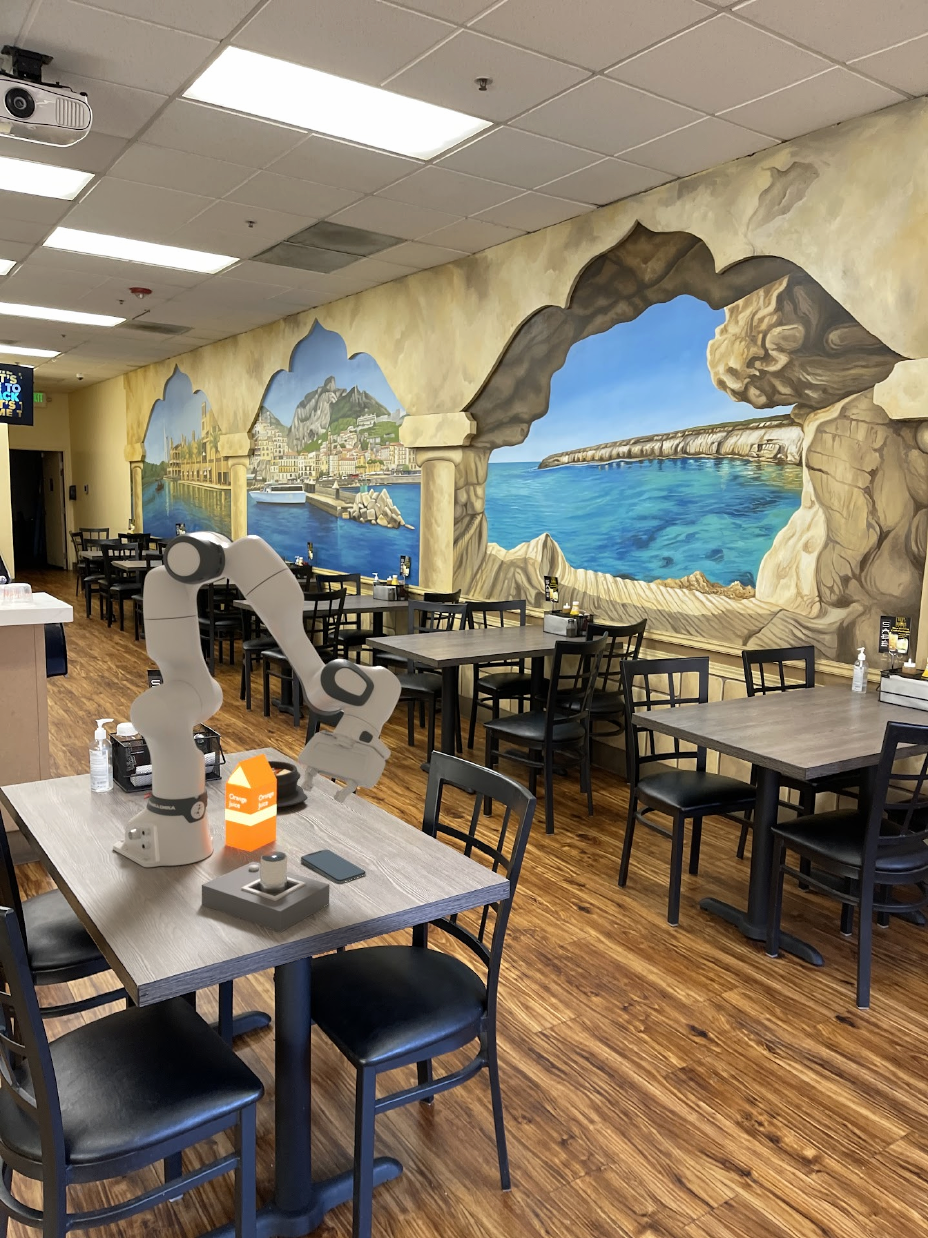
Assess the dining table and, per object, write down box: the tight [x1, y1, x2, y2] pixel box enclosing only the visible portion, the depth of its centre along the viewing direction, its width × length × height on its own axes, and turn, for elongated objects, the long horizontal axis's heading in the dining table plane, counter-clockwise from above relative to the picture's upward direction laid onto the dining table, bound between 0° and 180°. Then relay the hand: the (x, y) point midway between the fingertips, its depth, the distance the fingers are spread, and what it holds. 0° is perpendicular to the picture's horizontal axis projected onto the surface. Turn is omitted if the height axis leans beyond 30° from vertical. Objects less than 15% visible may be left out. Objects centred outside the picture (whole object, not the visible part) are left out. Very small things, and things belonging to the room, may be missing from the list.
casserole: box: [267, 760, 308, 808], centre depth 229 cm, size 25×19×8 cm
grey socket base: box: [201, 860, 330, 933], centre depth 167 cm, size 20×14×5 cm
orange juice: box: [224, 753, 278, 853], centre depth 198 cm, size 8×9×20 cm
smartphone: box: [300, 849, 366, 884], centre depth 186 cm, size 8×2×15 cm
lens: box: [260, 850, 288, 896], centre depth 166 cm, size 5×5×10 cm
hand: (321, 795), depth 175 cm, fingers open, 8 cm apart
